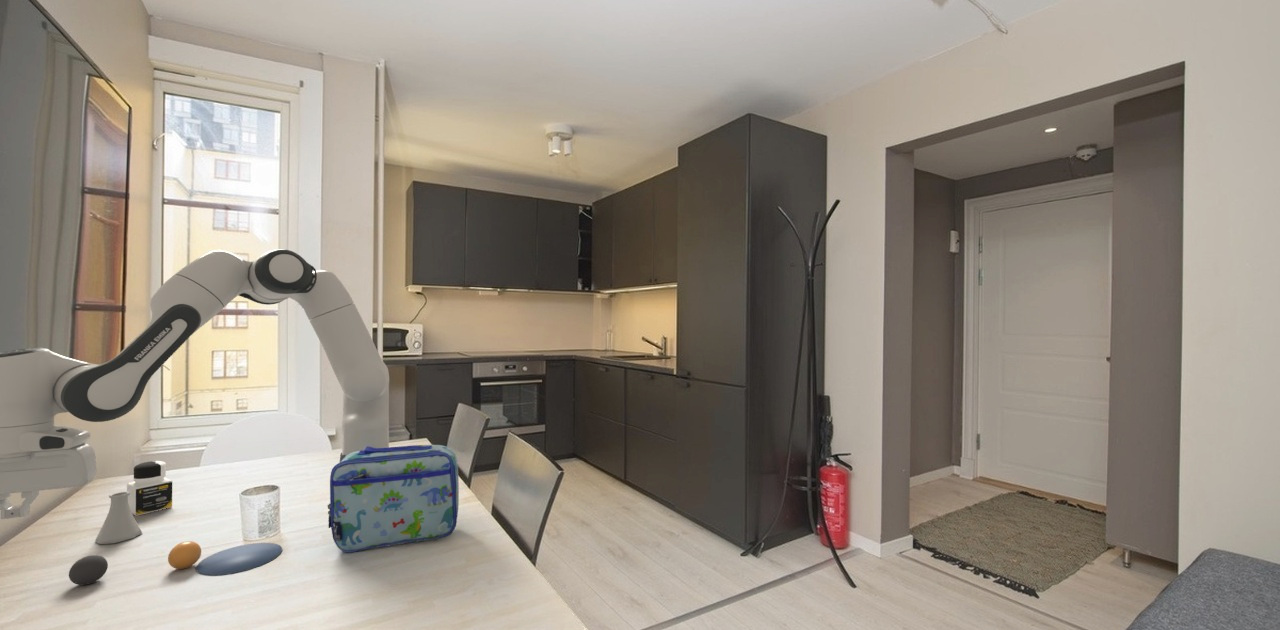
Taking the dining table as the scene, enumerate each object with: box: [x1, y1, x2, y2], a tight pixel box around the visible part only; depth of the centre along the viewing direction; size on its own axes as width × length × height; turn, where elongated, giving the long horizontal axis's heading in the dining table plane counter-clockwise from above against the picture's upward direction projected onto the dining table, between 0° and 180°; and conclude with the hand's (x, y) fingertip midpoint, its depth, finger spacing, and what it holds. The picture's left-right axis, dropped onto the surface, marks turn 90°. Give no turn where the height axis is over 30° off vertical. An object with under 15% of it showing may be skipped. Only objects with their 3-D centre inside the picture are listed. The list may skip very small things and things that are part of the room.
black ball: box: [68, 554, 109, 586], centre depth 97 cm, size 5×5×5 cm
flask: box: [95, 491, 143, 545], centre depth 117 cm, size 7×7×10 cm
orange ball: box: [167, 540, 202, 570], centre depth 103 cm, size 5×5×5 cm
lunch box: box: [327, 444, 460, 553], centre depth 116 cm, size 26×11×21 cm, turn 107°
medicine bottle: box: [126, 460, 173, 517], centre depth 134 cm, size 7×7×12 cm
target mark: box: [195, 542, 283, 576], centre depth 107 cm, size 14×14×1 cm
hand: (15, 517), depth 93 cm, fingers closed
